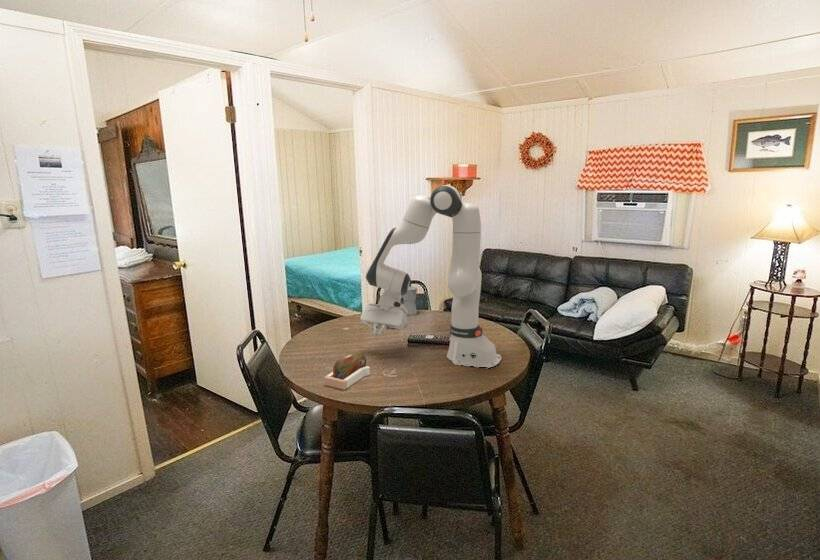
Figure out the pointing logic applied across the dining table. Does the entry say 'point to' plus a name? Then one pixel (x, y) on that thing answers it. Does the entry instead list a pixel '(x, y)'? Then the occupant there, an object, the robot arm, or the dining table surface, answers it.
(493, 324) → the dining table surface
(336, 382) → the guide channel
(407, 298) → the coffee maker
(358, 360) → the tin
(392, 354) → the dining table surface
